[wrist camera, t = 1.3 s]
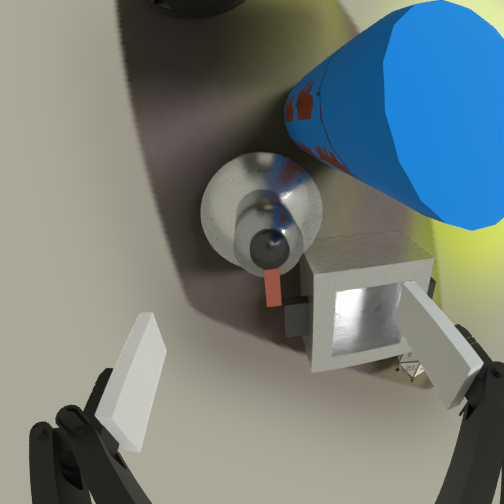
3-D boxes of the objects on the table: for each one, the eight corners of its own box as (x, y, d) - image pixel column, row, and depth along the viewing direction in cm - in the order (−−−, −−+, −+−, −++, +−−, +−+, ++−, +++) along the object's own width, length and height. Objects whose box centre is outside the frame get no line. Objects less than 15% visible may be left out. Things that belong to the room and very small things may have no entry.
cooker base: (275, 243, 37) (284, 277, 29) (416, 229, 37) (451, 255, 28) (281, 333, 43) (288, 376, 35) (403, 313, 43) (427, 347, 34)
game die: (395, 338, 50) (389, 386, 45) (393, 322, 44) (386, 378, 39) (437, 336, 45) (433, 386, 40) (441, 320, 39) (438, 378, 34)
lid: (199, 157, 32) (168, 176, 19) (308, 145, 32) (352, 158, 19) (214, 256, 38) (200, 327, 24) (313, 246, 37) (348, 310, 24)
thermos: (331, 178, 34) (468, 277, 11) (263, 121, 31) (315, 99, 8) (383, 117, 30) (553, 134, 7) (319, 58, 27) (449, -34, 5)
